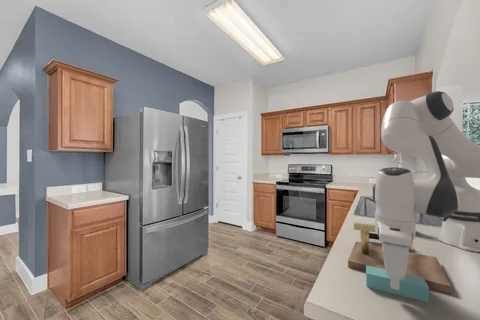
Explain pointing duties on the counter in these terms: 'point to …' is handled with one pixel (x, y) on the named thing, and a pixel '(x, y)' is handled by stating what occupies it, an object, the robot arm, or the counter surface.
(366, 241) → the t key
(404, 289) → the cover
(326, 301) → the counter surface
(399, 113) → the robot arm
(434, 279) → the base
